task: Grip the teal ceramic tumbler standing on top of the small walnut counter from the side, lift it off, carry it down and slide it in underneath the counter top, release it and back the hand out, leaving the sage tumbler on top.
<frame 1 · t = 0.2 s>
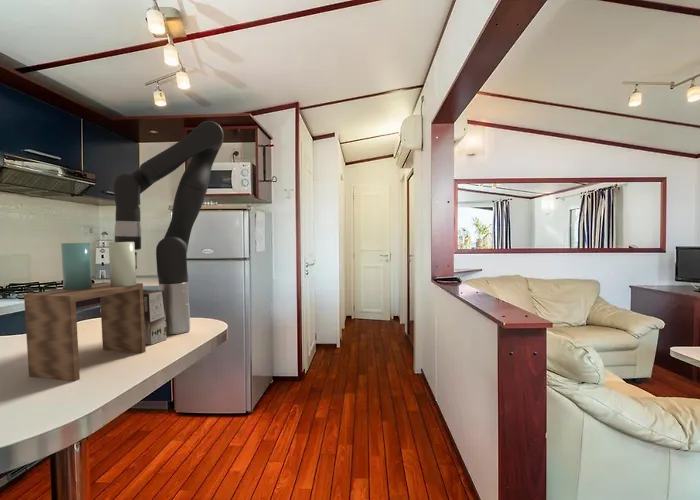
hand: (127, 284, 118), 18 cm above the table, tool pointing down, fingers open, 8 cm apart
sage tumbler: (123, 285, 99), point 20 cm above the table, touching walnut counter
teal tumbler: (78, 288, 95), point 20 cm above the table, touching walnut counter
walnut counter: (92, 362, 95), on the table
coffee box: (148, 341, 114), on the table
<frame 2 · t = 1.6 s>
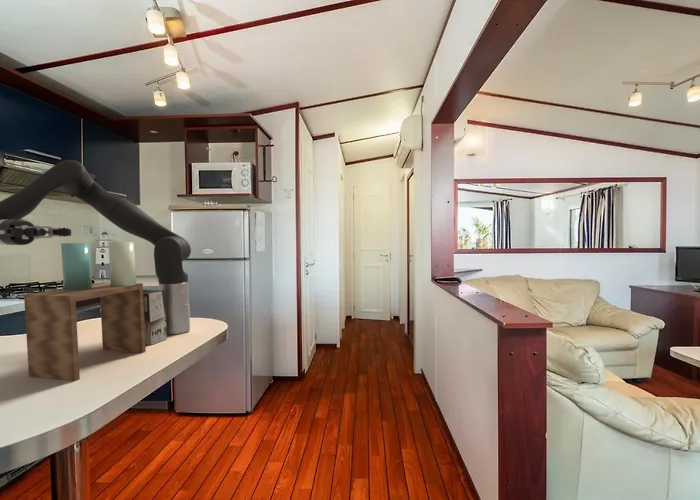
hand: (55, 232, 100), 35 cm above the table, tool horizontal, fingers open, 8 cm apart
nothing on the table moved.
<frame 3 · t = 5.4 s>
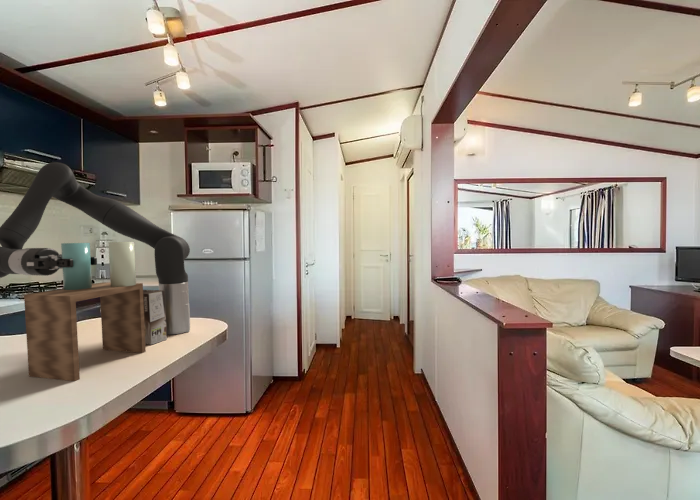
hand: (84, 262, 94), 27 cm above the table, tool horizontal, fingers closed on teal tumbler, 6 cm apart
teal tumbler: (78, 288, 95), point 20 cm above the table, touching gripper, walnut counter
everything else where it was.
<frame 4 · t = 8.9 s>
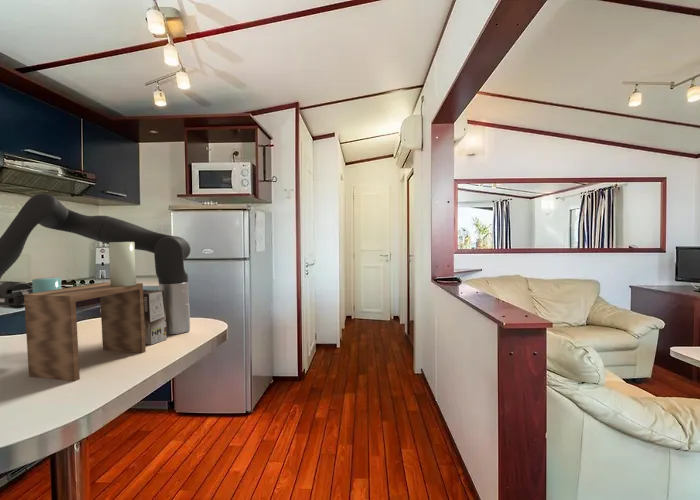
hand: (54, 297, 97), 17 cm above the table, tool horizontal, fingers closed on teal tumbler, 6 cm apart
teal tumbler: (48, 322, 98), point 10 cm above the table, touching gripper
everything else where it was.
when the fingers open (8 cm above the table, at t = 12.9 s): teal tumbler drops 1 cm, on the table.
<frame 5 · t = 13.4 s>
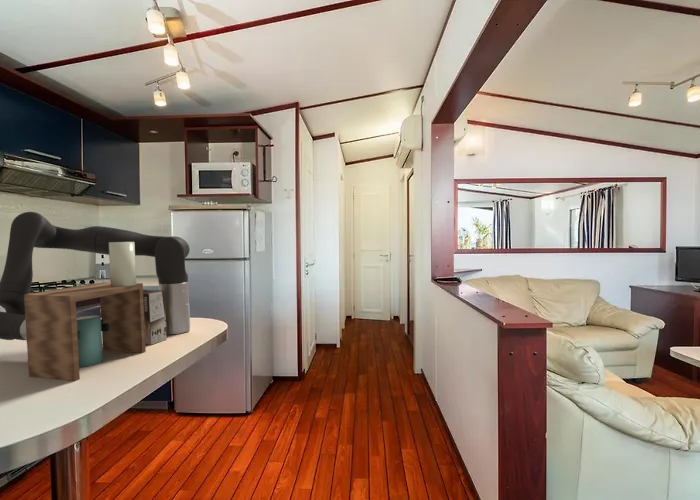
hand: (93, 331, 94), 8 cm above the table, tool horizontal, fingers open, 8 cm apart
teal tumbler: (89, 362, 95), on the table
everything else where it was.
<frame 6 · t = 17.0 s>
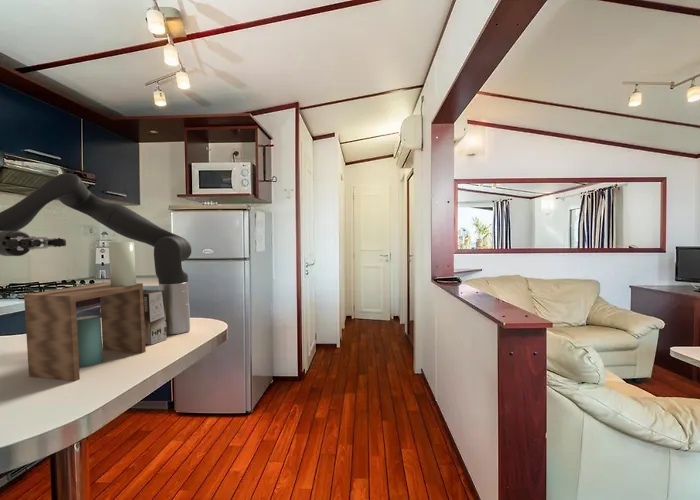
hand: (49, 243, 101), 32 cm above the table, tool horizontal, fingers open, 8 cm apart
nothing on the table moved.
at the end: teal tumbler inside the target area (0.1 cm from its centre), on the table; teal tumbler tilted 0°; the gripper is holding nothing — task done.
